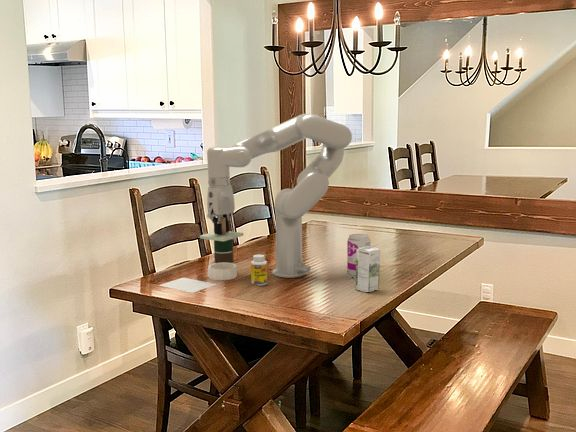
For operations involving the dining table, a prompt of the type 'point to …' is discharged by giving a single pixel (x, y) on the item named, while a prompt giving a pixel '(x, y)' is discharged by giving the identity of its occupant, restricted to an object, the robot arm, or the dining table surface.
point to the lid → (224, 235)
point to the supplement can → (352, 245)
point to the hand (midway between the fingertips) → (221, 232)
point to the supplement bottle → (259, 270)
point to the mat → (187, 285)
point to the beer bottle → (223, 250)
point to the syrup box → (367, 268)
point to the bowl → (222, 271)
